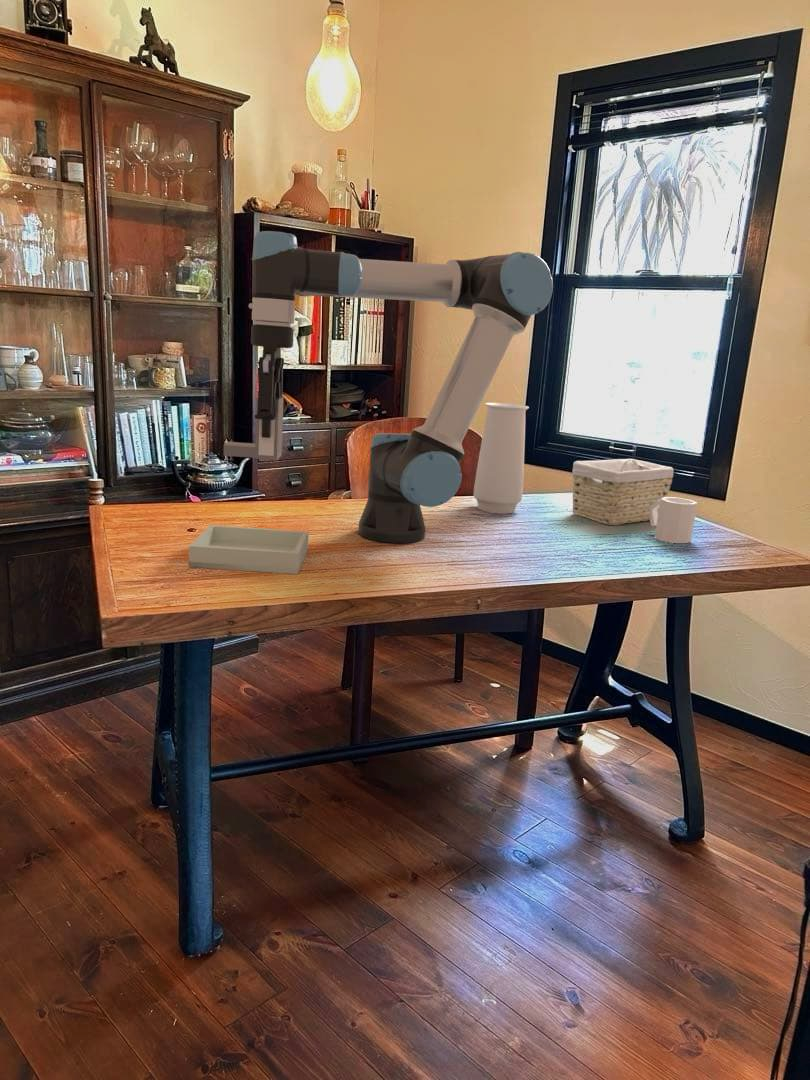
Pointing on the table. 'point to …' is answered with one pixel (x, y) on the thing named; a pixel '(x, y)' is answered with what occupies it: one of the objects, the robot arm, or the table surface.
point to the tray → (249, 549)
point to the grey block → (253, 449)
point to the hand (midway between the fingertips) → (269, 452)
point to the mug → (673, 519)
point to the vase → (501, 459)
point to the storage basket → (618, 489)
